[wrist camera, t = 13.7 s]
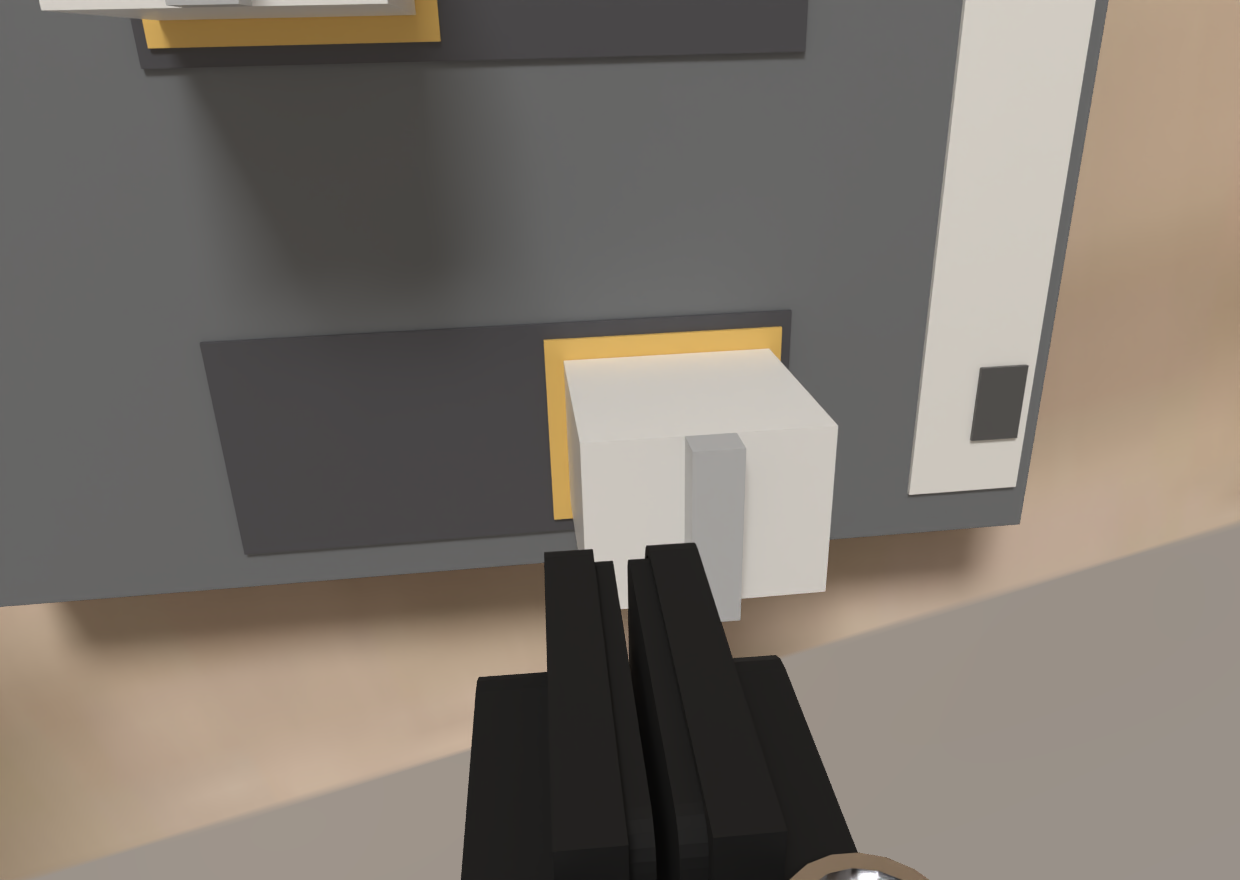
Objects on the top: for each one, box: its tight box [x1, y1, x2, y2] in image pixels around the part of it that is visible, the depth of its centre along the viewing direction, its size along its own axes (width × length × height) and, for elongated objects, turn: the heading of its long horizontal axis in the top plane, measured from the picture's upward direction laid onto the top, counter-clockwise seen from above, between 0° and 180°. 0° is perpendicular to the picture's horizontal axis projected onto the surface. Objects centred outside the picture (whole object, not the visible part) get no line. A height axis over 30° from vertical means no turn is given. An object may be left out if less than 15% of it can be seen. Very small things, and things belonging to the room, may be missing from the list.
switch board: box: [0, 0, 1108, 607], centre depth 17 cm, size 22×15×3 cm
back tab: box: [564, 348, 838, 622], centre depth 16 cm, size 4×3×5 cm
